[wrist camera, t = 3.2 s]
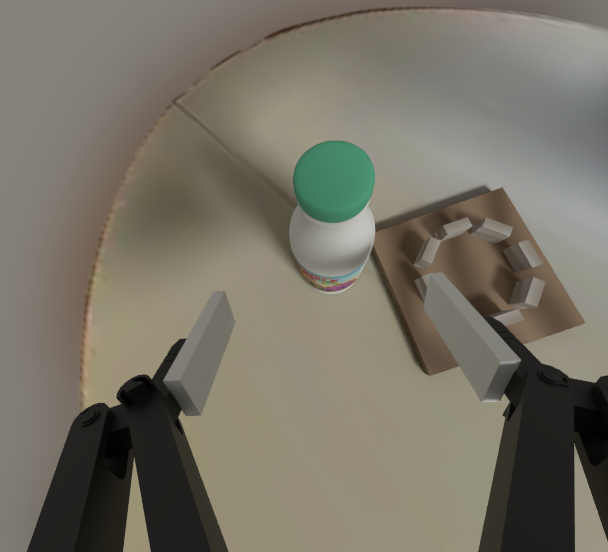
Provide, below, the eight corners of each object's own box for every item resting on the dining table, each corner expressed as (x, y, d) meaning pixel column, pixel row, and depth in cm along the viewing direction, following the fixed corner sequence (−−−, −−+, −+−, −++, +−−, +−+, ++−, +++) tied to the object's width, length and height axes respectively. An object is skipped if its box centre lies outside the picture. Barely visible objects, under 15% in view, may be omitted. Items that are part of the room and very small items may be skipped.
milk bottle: (314, 231, 34) (297, 99, 15) (368, 251, 33) (426, 134, 13) (292, 282, 33) (241, 210, 13) (346, 304, 32) (377, 261, 12)
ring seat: (494, 193, 33) (517, 175, 29) (572, 323, 29) (610, 322, 25) (367, 238, 33) (372, 226, 29) (424, 373, 29) (440, 380, 25)
